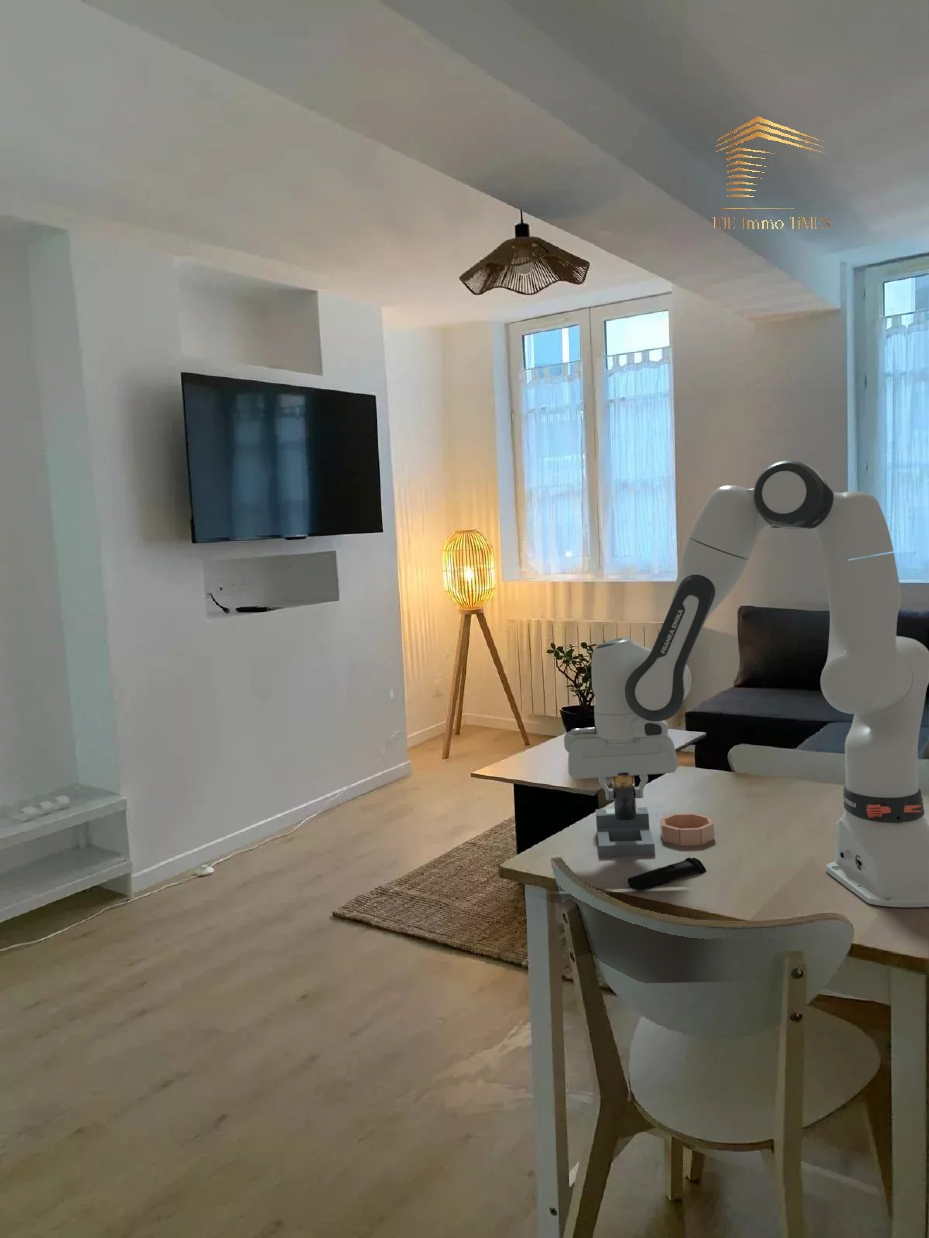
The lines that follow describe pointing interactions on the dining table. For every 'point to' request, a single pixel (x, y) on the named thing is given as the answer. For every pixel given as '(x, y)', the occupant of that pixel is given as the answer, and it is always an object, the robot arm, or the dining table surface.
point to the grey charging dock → (624, 834)
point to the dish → (687, 829)
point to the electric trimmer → (666, 874)
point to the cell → (624, 796)
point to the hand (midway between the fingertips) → (624, 798)
